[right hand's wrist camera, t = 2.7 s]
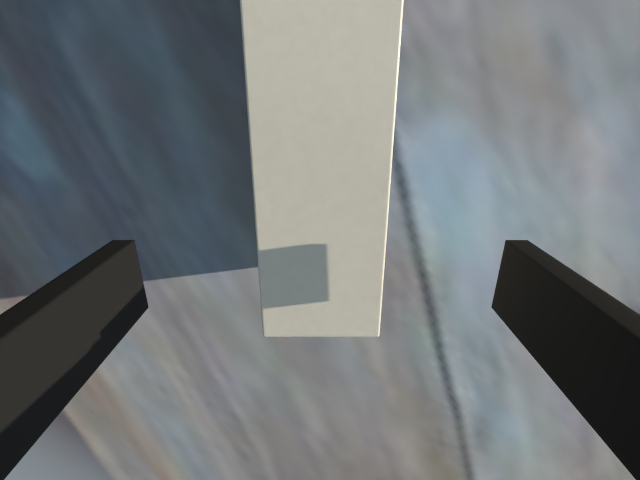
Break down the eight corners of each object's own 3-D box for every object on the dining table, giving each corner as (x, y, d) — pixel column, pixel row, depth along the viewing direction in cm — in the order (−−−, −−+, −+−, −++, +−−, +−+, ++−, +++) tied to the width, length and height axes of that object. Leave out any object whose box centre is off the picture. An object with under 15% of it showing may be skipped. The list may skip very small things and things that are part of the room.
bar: (358, 255, 25) (379, 337, 16) (283, 255, 25) (262, 337, 16) (379, -250, 16) (455, -707, 7) (262, -250, 16) (189, -707, 7)
